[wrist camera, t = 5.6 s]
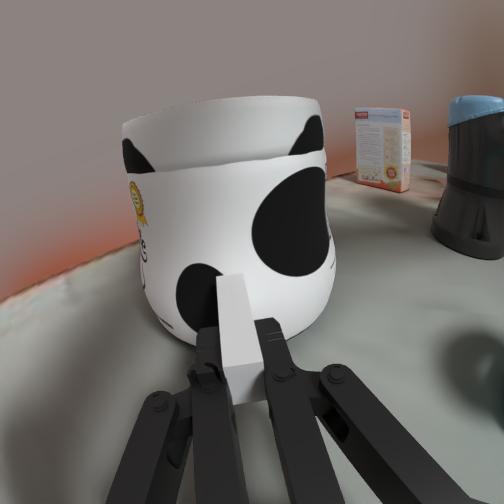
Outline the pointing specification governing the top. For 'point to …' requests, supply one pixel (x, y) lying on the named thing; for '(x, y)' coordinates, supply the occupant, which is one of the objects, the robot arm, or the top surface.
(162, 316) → the milk container
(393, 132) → the cracker box
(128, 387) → the top surface
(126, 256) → the top surface
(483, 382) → the top surface
